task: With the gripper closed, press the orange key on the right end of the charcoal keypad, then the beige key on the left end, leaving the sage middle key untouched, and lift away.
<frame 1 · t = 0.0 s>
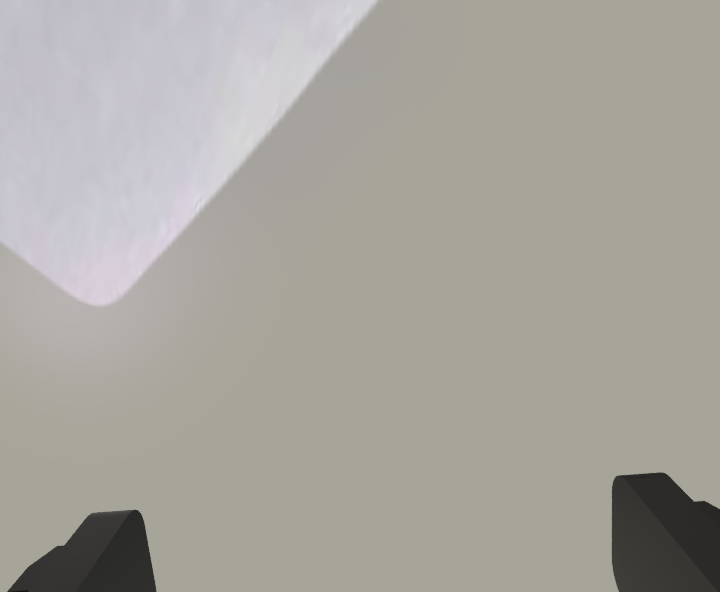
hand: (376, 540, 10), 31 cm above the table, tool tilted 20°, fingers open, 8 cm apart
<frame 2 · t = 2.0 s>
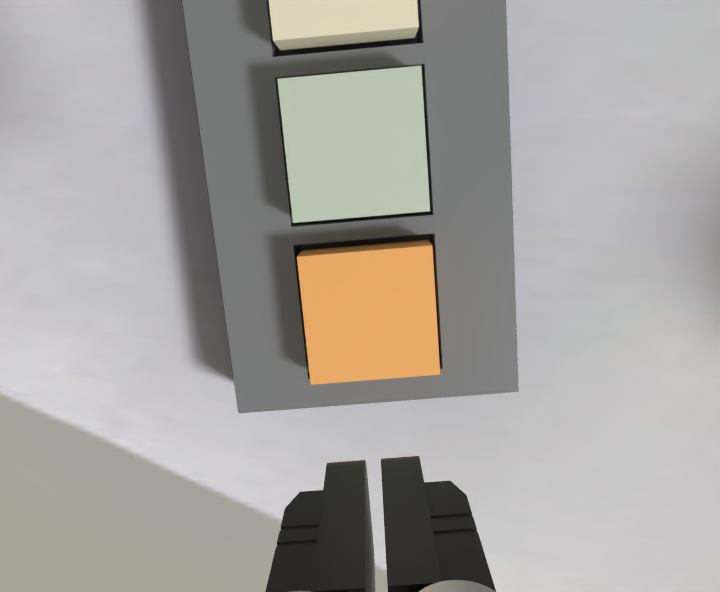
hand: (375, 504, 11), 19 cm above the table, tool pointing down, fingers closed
keypad: (356, 149, 28), on the table
orange key: (369, 311, 26), point 4 cm above the table, slide at 0.0 cm
sage key: (355, 147, 25), point 4 cm above the table, slide at 0.0 cm
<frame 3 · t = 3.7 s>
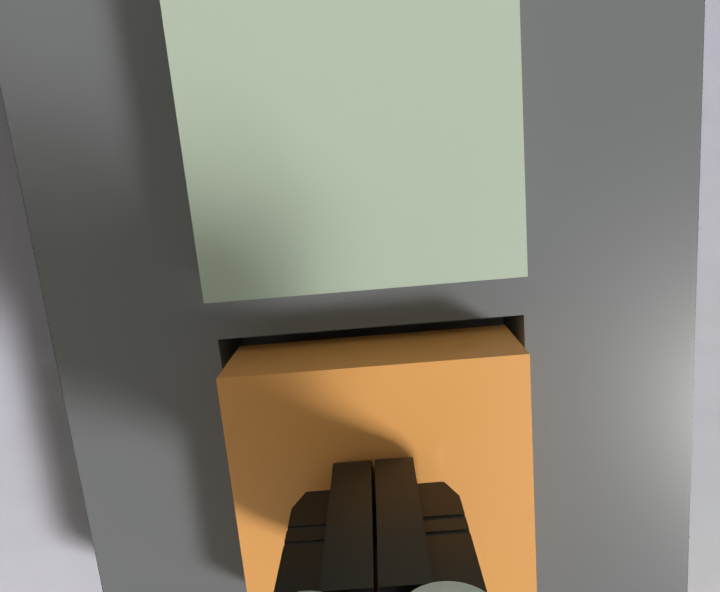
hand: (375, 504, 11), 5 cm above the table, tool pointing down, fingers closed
keypad: (355, 135, 14), on the table
orange key: (382, 480, 12), point 4 cm above the table, slide at 0.1 cm, touching gripper
sage key: (351, 126, 11), point 4 cm above the table, slide at 0.0 cm
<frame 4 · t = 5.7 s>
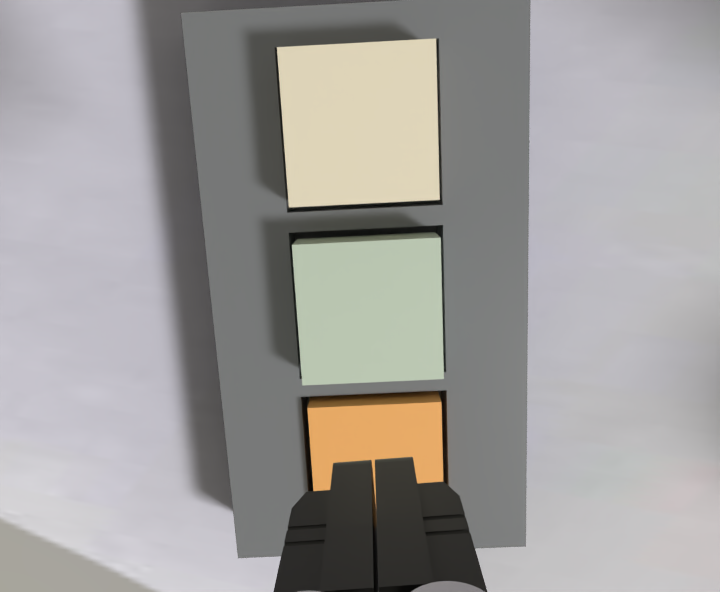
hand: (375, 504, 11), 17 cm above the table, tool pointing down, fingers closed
keypad: (368, 289, 28), on the table
beige key: (360, 127, 23), point 4 cm above the table, slide at 0.0 cm
orange key: (376, 455, 27), point 3 cm above the table, slide at 1.1 cm
sage key: (369, 307, 24), point 4 cm above the table, slide at 0.0 cm
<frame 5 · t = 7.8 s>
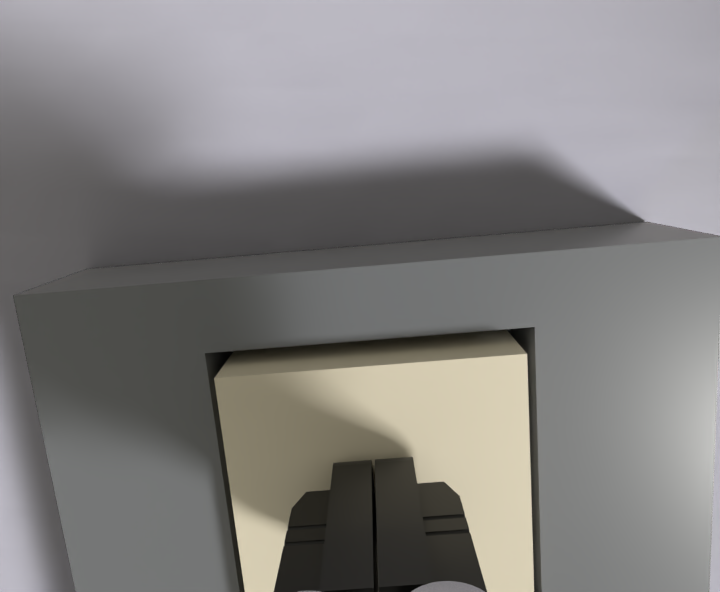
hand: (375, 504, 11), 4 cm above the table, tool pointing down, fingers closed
beige key: (380, 480, 12), point 3 cm above the table, slide at 1.0 cm, touching gripper
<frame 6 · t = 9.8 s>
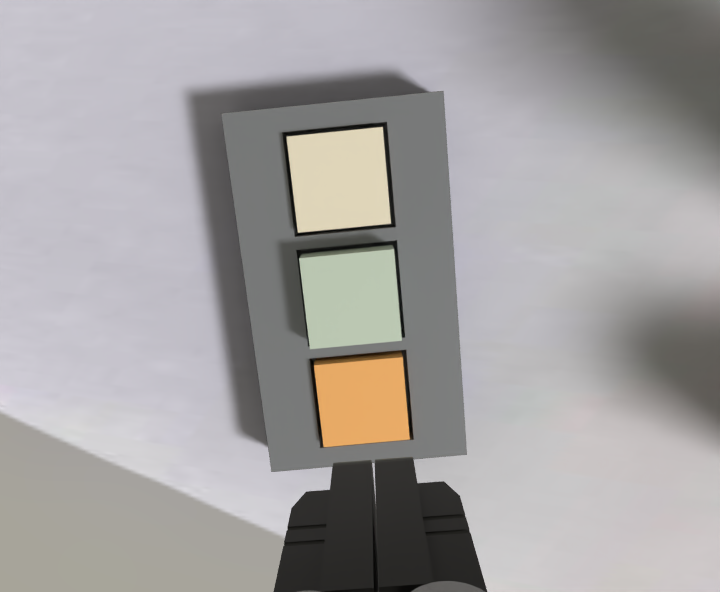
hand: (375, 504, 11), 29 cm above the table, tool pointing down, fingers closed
keypad: (352, 285, 40), on the table
beige key: (340, 180, 36), point 3 cm above the table, slide at 1.1 cm
orange key: (362, 397, 39), point 3 cm above the table, slide at 1.1 cm
sage key: (351, 296, 37), point 4 cm above the table, slide at 0.0 cm
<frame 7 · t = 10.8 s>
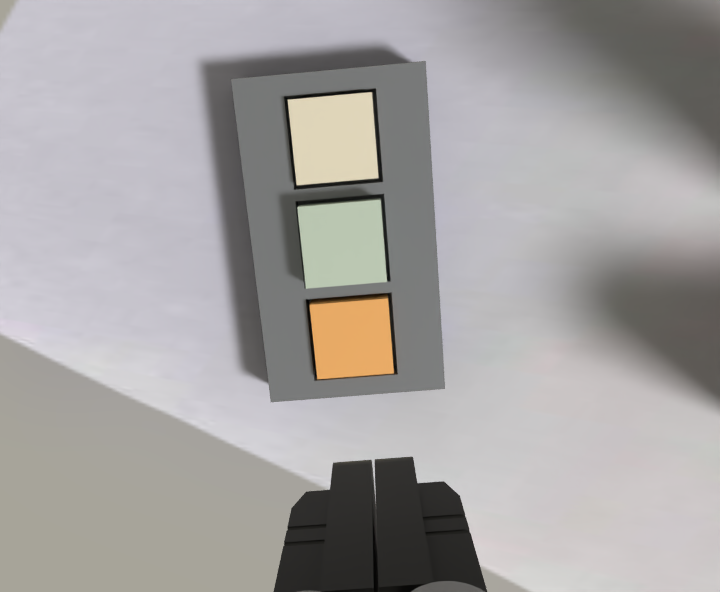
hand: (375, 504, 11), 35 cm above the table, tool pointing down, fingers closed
keypad: (344, 237, 45), on the table
beige key: (334, 140, 41), point 3 cm above the table, slide at 1.1 cm
orange key: (352, 335, 44), point 3 cm above the table, slide at 1.1 cm
sage key: (343, 243, 42), point 4 cm above the table, slide at 0.0 cm
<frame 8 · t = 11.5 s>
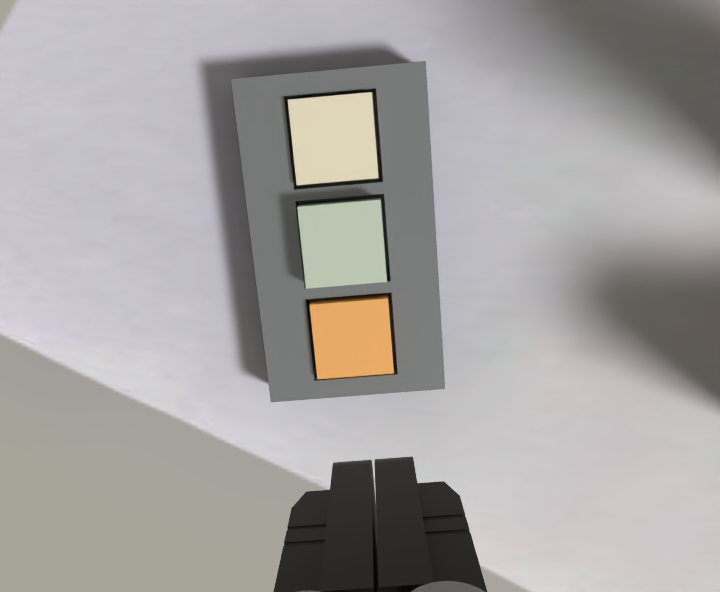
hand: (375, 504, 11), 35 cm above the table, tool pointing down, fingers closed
keypad: (344, 237, 45), on the table
beige key: (334, 140, 41), point 3 cm above the table, slide at 1.1 cm
orange key: (352, 335, 44), point 3 cm above the table, slide at 1.1 cm
sage key: (343, 243, 42), point 4 cm above the table, slide at 0.0 cm
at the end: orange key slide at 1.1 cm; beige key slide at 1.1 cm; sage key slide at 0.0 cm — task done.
